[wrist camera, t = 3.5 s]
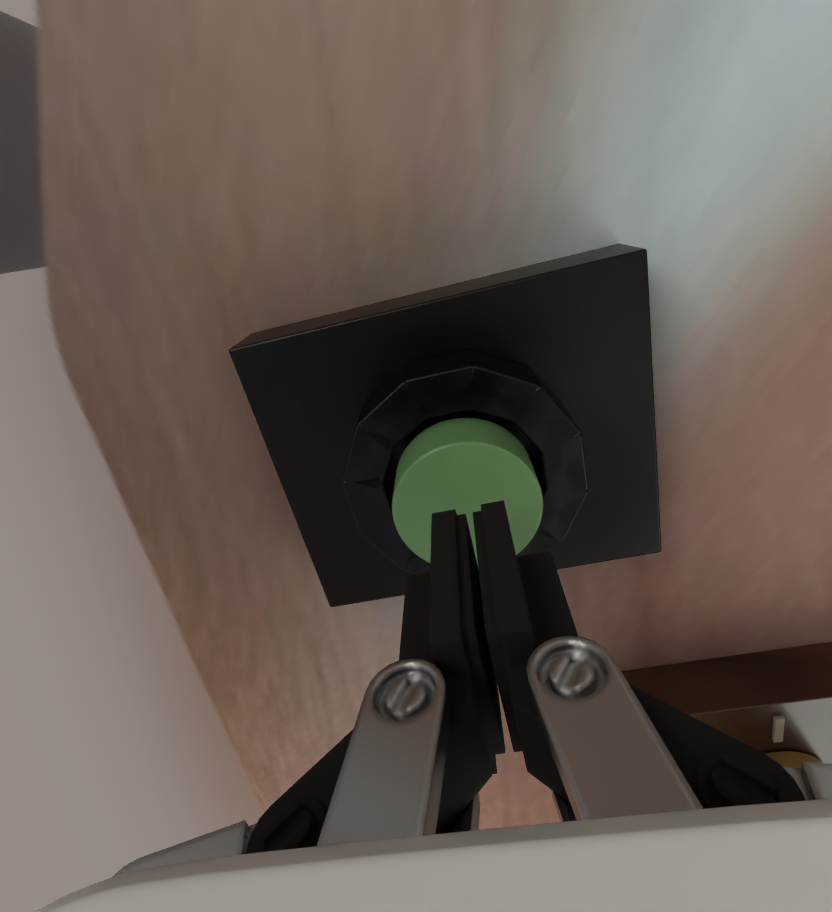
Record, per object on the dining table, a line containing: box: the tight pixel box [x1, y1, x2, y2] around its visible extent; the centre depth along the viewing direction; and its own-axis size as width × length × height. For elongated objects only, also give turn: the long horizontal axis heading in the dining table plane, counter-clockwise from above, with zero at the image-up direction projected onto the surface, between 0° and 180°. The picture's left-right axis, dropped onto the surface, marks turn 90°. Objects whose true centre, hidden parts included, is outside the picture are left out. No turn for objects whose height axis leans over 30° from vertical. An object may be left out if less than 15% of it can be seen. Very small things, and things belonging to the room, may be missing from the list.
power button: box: [392, 418, 543, 569], centre depth 15 cm, size 4×4×2 cm
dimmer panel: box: [622, 643, 832, 764], centre depth 24 cm, size 13×10×3 cm
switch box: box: [229, 244, 661, 607], centre depth 17 cm, size 12×10×4 cm
